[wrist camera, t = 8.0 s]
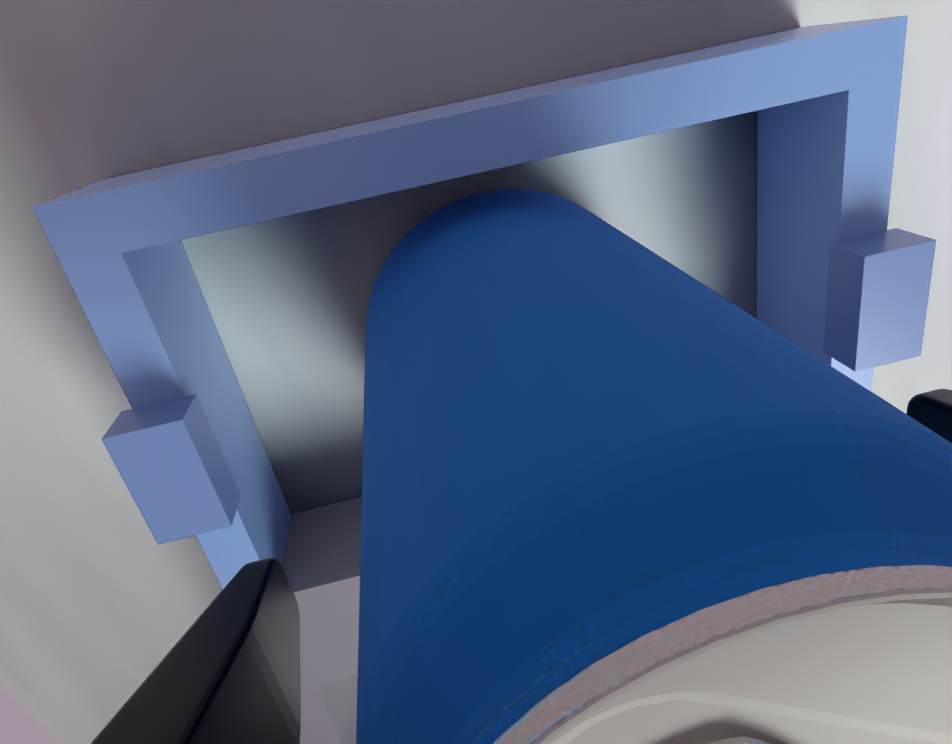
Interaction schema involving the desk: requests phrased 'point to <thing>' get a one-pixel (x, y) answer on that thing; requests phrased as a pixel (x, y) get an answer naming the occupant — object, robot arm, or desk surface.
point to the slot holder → (447, 157)
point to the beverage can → (631, 507)
